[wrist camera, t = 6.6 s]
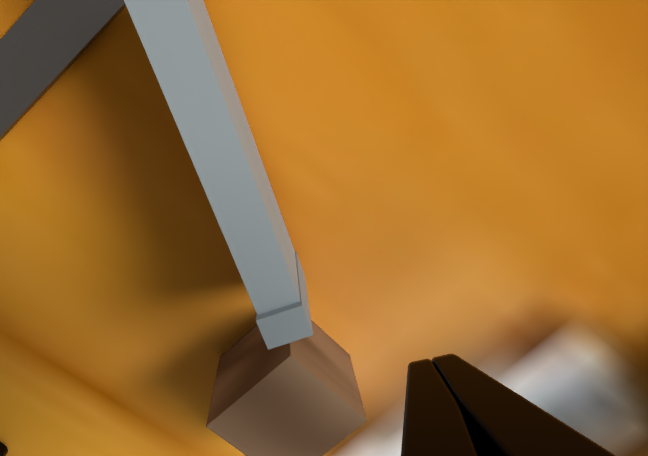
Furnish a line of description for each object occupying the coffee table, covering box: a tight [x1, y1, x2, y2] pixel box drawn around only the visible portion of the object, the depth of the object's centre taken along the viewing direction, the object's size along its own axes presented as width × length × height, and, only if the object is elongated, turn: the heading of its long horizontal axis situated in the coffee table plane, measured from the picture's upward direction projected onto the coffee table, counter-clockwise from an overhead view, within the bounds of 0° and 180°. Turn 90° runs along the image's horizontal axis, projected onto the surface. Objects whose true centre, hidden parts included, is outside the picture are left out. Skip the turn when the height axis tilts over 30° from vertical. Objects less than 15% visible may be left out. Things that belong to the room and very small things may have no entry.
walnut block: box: [206, 320, 367, 456], centre depth 19 cm, size 4×4×4 cm
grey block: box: [124, 0, 313, 350], centre depth 14 cm, size 12×2×5 cm, turn 17°
